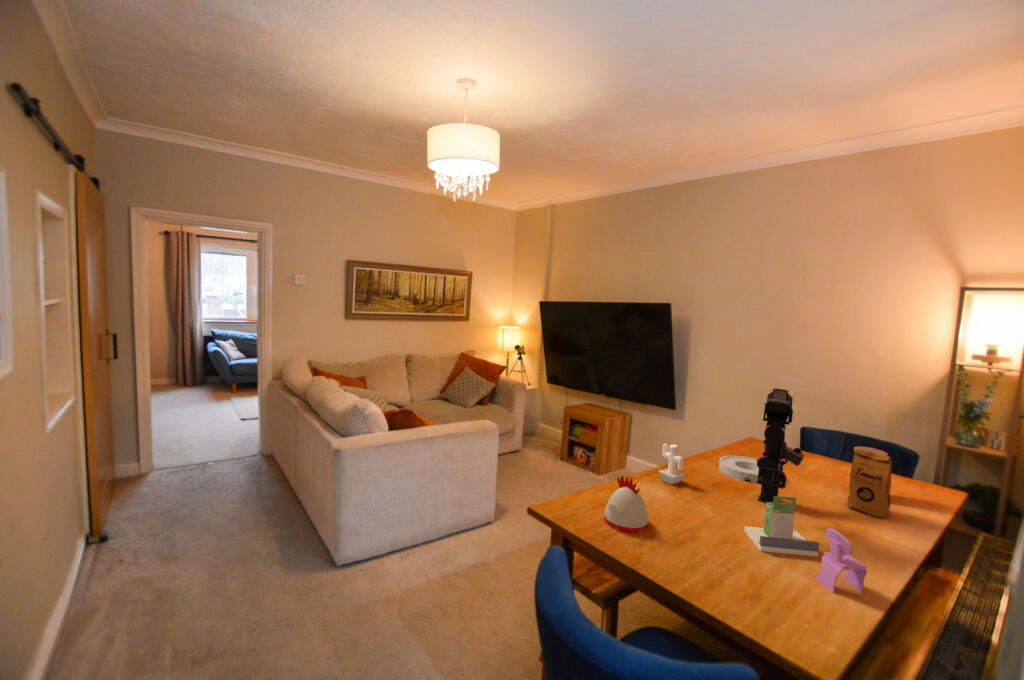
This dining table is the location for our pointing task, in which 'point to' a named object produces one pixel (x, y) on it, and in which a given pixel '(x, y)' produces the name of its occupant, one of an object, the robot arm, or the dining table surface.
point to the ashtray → (739, 468)
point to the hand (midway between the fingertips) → (771, 484)
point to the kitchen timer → (626, 508)
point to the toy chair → (840, 563)
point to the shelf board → (782, 543)
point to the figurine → (672, 465)
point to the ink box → (780, 518)
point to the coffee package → (870, 483)
